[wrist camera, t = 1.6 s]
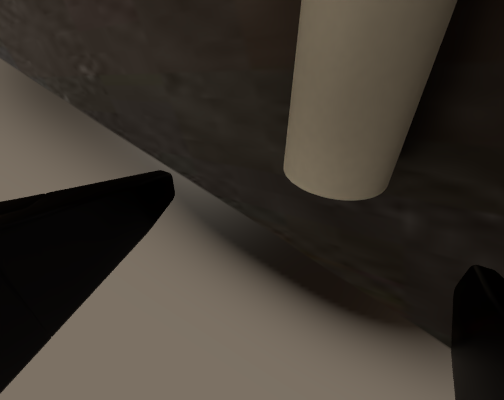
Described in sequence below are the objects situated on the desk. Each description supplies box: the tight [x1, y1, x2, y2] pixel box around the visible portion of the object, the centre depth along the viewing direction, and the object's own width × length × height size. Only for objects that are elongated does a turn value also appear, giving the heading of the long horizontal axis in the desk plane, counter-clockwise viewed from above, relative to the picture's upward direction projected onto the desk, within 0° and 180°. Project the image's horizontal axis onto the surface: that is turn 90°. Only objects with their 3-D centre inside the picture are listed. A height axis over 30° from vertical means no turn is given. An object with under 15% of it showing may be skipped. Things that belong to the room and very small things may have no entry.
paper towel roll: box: [284, 0, 457, 201], centre depth 13 cm, size 6×12×6 cm, turn 178°
